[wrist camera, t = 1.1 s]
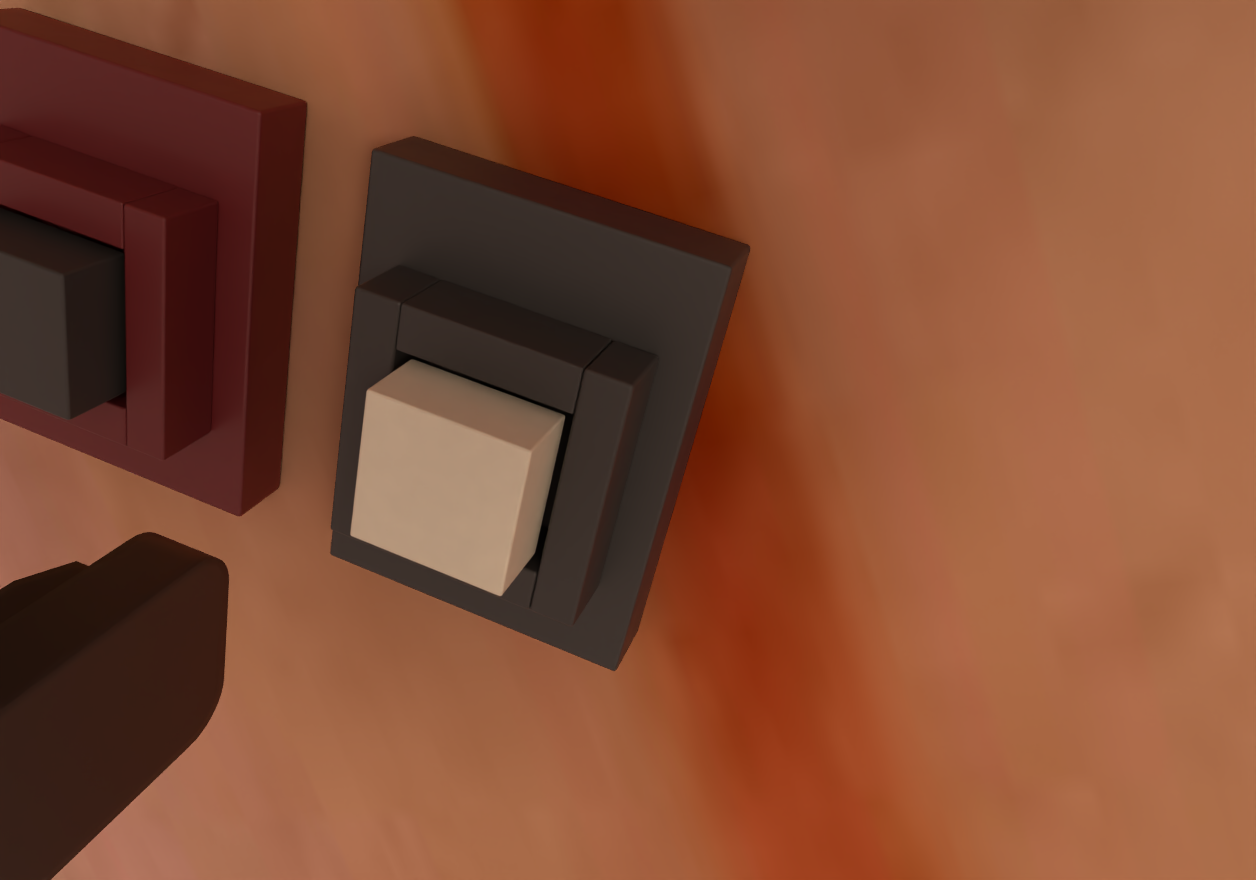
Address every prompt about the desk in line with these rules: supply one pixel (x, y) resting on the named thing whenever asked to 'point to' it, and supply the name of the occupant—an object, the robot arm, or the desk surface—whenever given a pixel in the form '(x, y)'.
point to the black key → (60, 318)
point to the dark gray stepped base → (543, 368)
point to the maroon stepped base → (165, 245)
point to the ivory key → (454, 474)
